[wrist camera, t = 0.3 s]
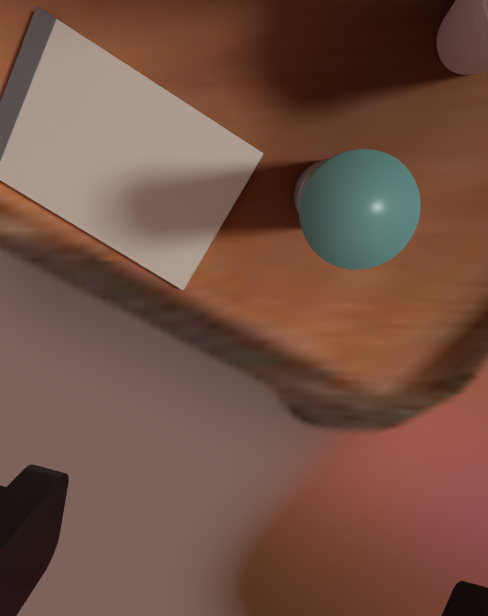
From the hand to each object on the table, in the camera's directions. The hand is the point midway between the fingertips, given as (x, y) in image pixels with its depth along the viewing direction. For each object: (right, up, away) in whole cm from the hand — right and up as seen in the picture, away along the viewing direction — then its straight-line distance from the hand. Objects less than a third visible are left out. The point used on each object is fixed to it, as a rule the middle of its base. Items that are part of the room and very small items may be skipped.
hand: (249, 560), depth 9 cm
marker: (+5, +12, +18) cm, 22 cm away
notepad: (-8, +14, +19) cm, 25 cm away
